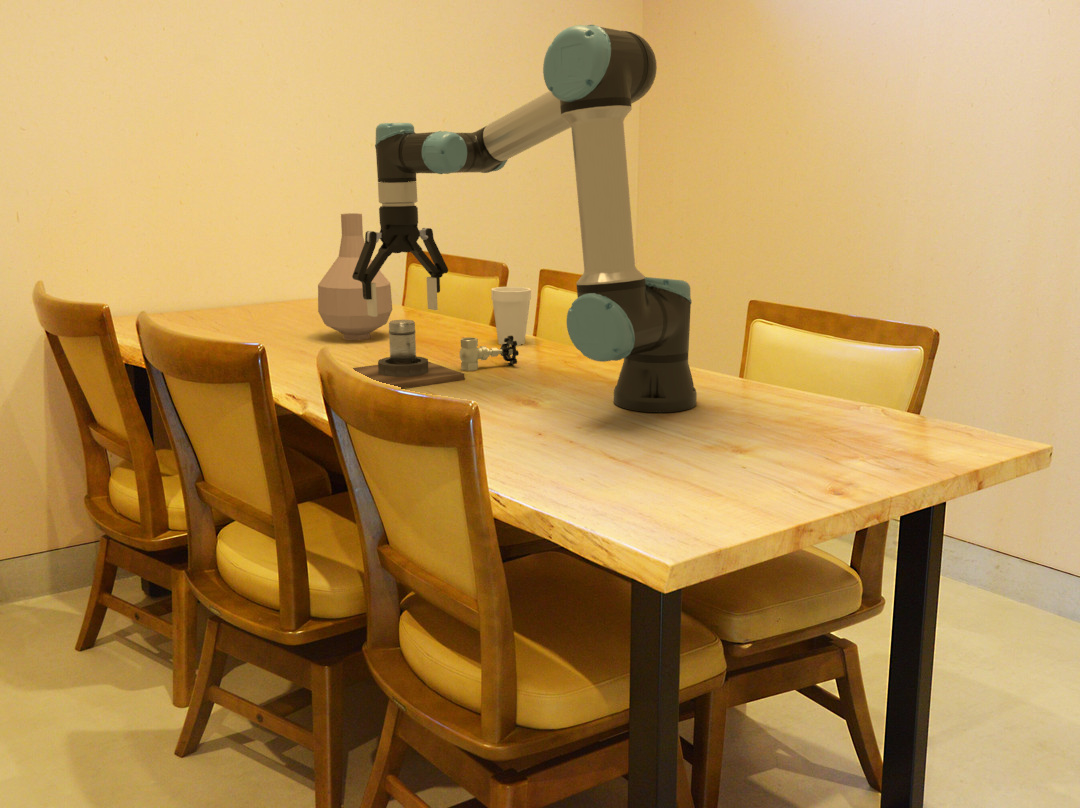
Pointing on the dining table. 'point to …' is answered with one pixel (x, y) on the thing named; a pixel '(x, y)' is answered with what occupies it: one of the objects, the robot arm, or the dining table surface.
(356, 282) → the vase
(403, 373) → the ring block
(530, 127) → the robot arm
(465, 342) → the valve
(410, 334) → the cylinder
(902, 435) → the dining table surface
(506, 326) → the foam cup
